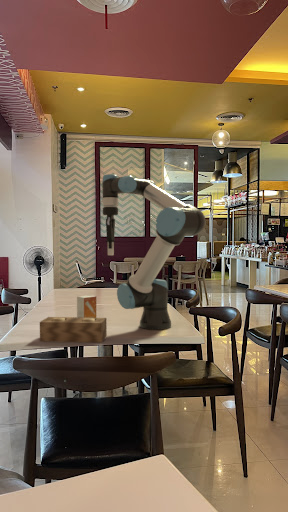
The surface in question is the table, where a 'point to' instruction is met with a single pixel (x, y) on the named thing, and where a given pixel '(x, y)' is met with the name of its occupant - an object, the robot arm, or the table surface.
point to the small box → (86, 306)
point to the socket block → (73, 330)
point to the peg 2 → (89, 320)
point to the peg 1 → (58, 319)
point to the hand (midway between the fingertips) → (110, 255)
